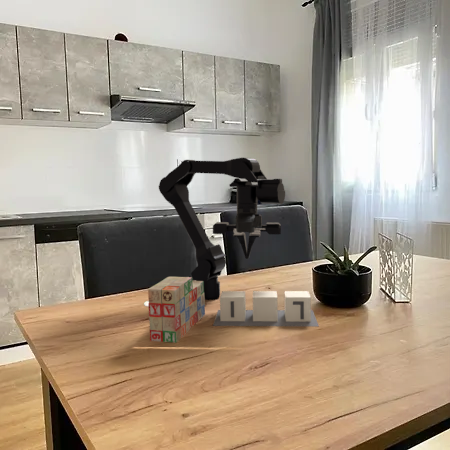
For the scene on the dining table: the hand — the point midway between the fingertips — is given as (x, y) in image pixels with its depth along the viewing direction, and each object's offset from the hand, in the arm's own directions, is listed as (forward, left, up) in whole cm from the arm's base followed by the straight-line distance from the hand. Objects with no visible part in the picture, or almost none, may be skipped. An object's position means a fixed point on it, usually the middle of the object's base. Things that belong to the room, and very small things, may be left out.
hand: (247, 258), depth 127 cm
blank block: (+5, -15, -12) cm, 20 cm away
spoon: (-26, +5, -13) cm, 30 cm away
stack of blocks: (-16, -22, -13) cm, 30 cm away
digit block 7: (+13, -15, -12) cm, 23 cm away
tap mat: (+5, -15, -13) cm, 20 cm away
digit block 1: (-3, -15, -12) cm, 20 cm away
